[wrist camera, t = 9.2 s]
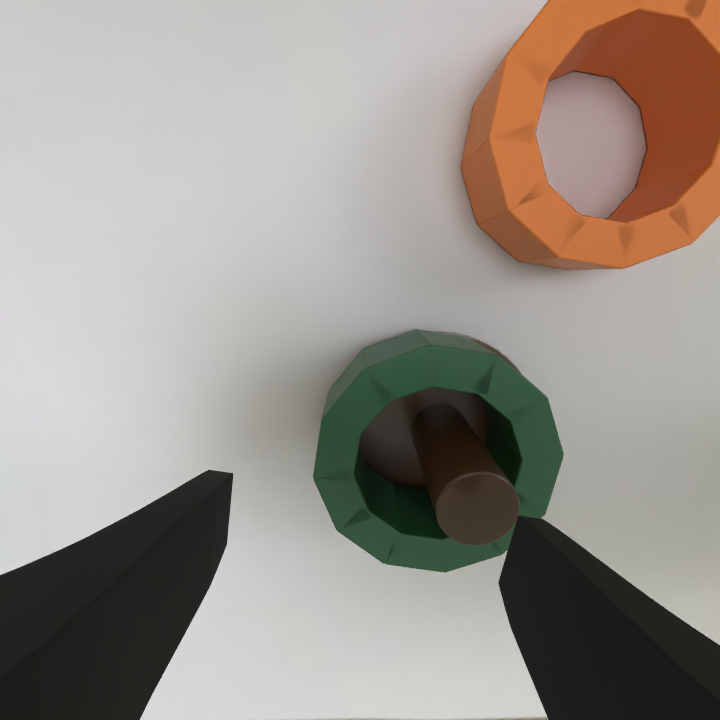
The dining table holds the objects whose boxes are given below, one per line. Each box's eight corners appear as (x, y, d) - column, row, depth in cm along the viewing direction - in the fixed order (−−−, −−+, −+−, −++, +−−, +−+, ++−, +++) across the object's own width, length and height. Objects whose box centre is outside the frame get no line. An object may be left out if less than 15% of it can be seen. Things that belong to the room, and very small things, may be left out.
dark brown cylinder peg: (565, 410, 18) (689, 492, 11) (441, 534, 20) (484, 672, 13) (426, 291, 17) (471, 303, 10) (306, 434, 18) (274, 528, 12)
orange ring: (726, 138, 15) (834, 98, 12) (568, 308, 17) (621, 316, 14) (575, -28, 14) (646, -127, 11) (419, 172, 16) (436, 143, 12)
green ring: (560, 415, 17) (611, 451, 14) (430, 546, 19) (446, 608, 15) (412, 289, 16) (427, 293, 12) (286, 440, 17) (267, 482, 14)
